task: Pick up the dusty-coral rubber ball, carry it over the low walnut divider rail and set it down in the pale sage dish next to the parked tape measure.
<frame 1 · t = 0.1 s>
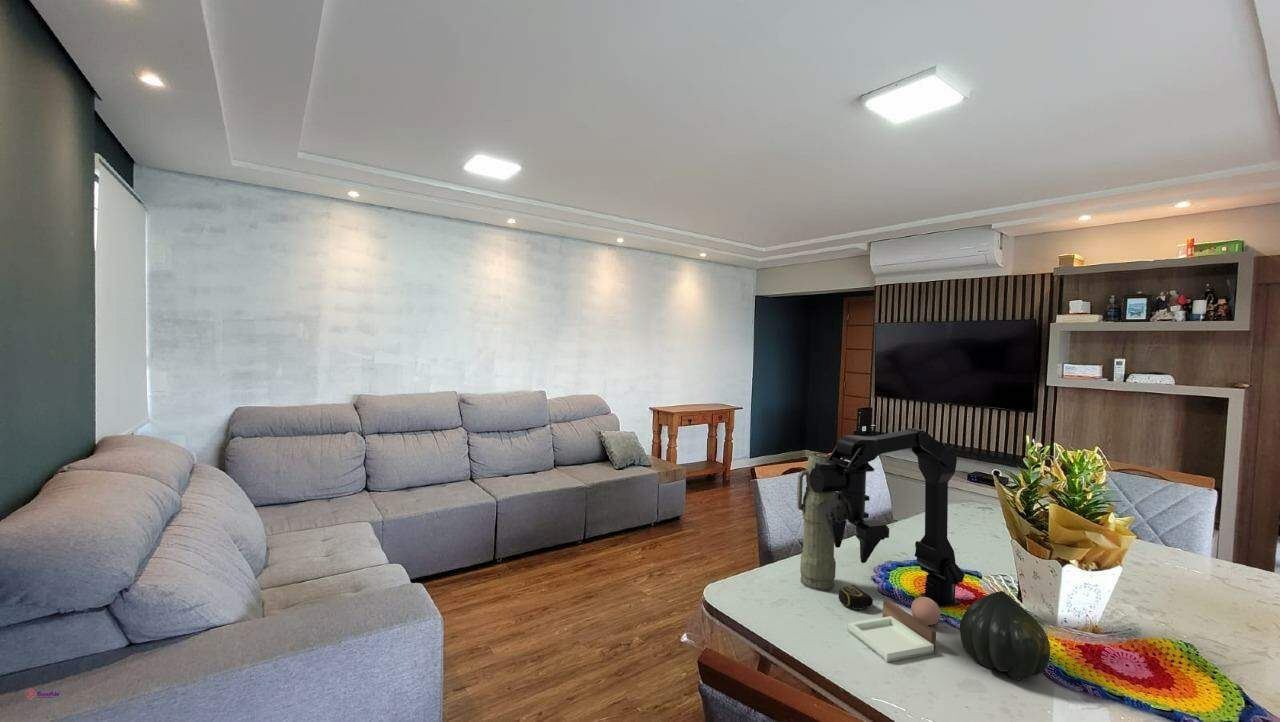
hand: (850, 554, 124), 15 cm above the table, fingers open, 9 cm apart
divider rail: (907, 632, 118), on the table
tape measure: (854, 605, 130), on the table
ball: (925, 623, 122), on the table
dish: (888, 641, 114), on the table
squash: (1000, 666, 106), on the table
thermos: (817, 583, 141), on the table
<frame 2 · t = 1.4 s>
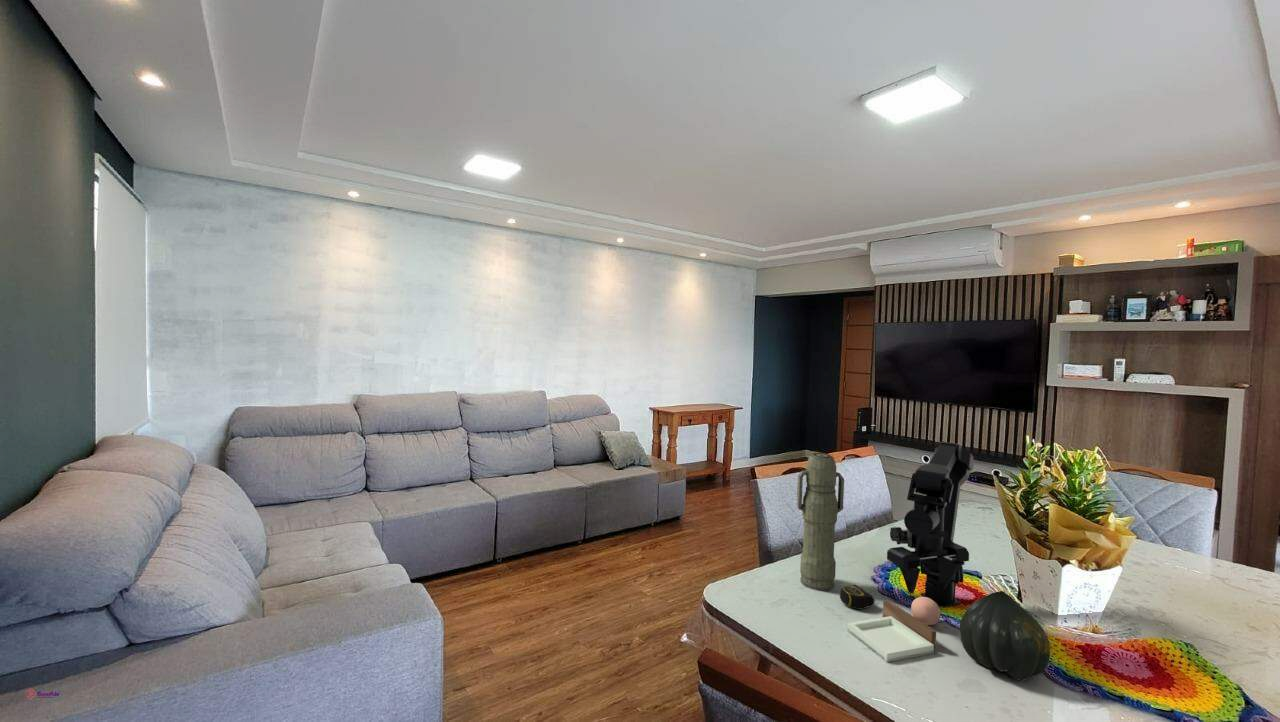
hand: (926, 590, 122), 8 cm above the table, fingers open, 9 cm apart
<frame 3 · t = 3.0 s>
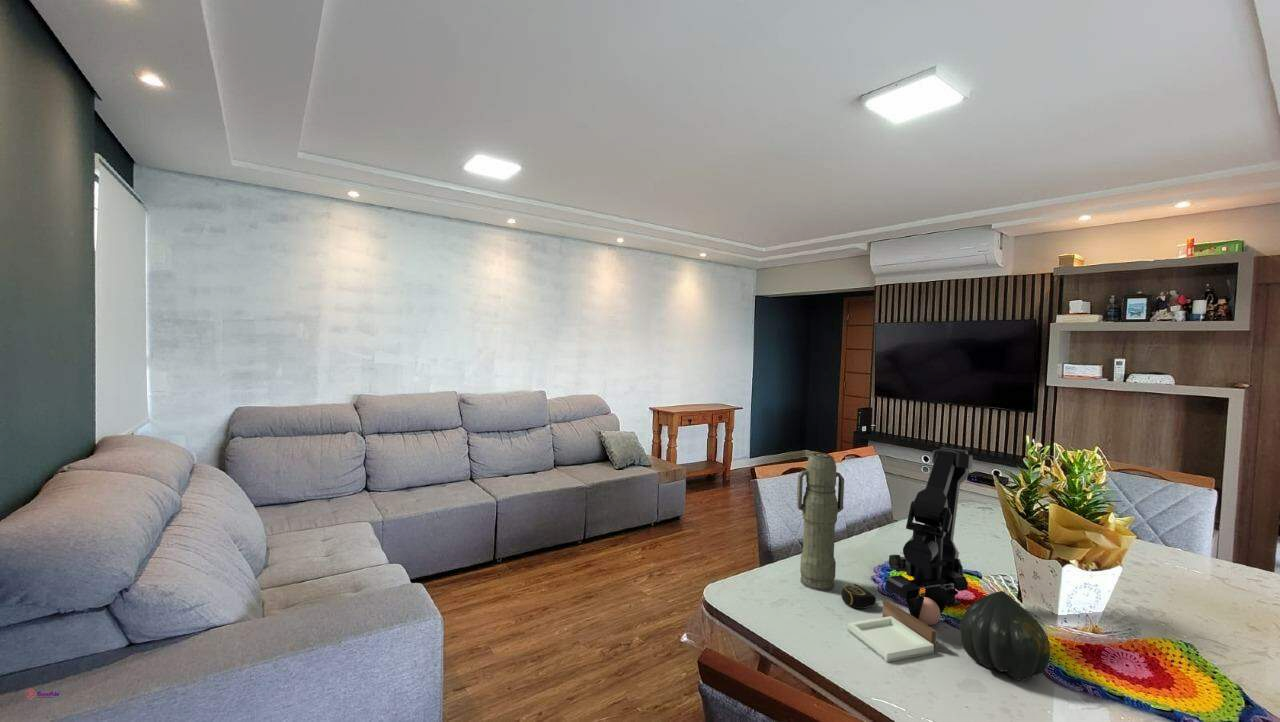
hand: (925, 619, 122), 1 cm above the table, fingers closed on ball, 6 cm apart
ball: (925, 623, 122), on the table, touching gripper
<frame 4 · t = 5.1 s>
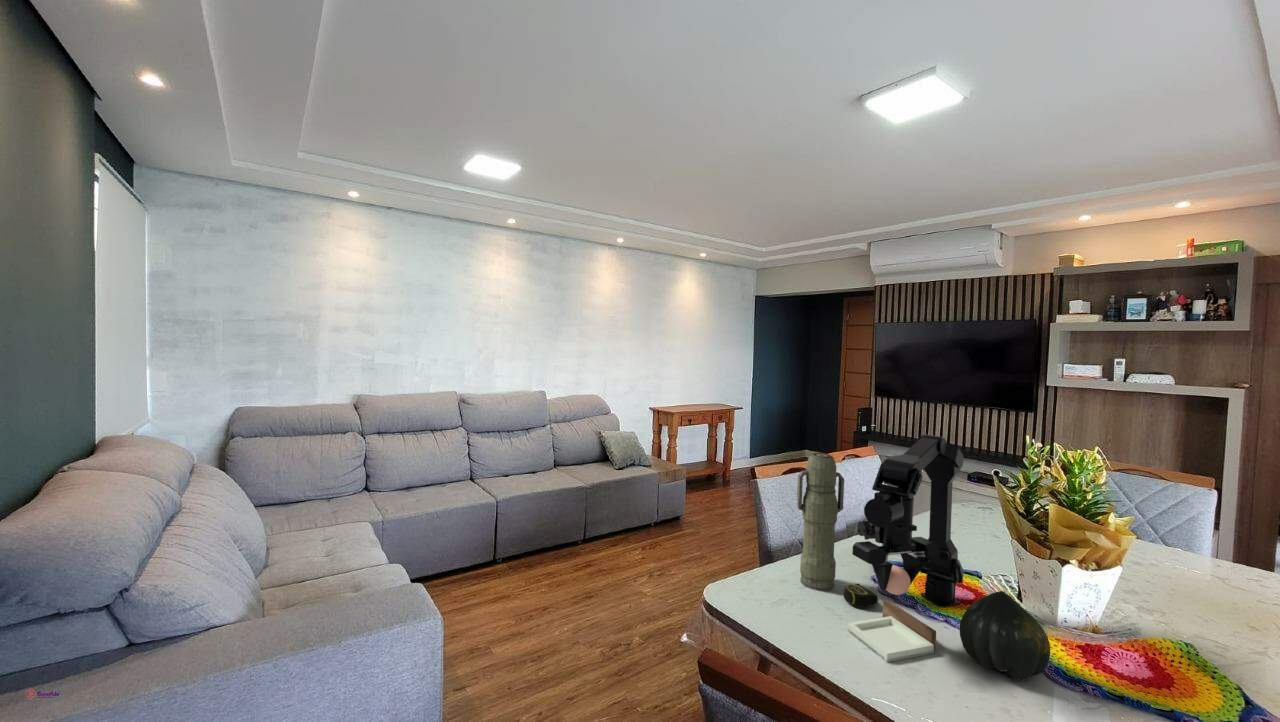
hand: (894, 588, 114), 12 cm above the table, fingers closed on ball, 6 cm apart
ball: (894, 593, 114), point 11 cm above the table, touching gripper
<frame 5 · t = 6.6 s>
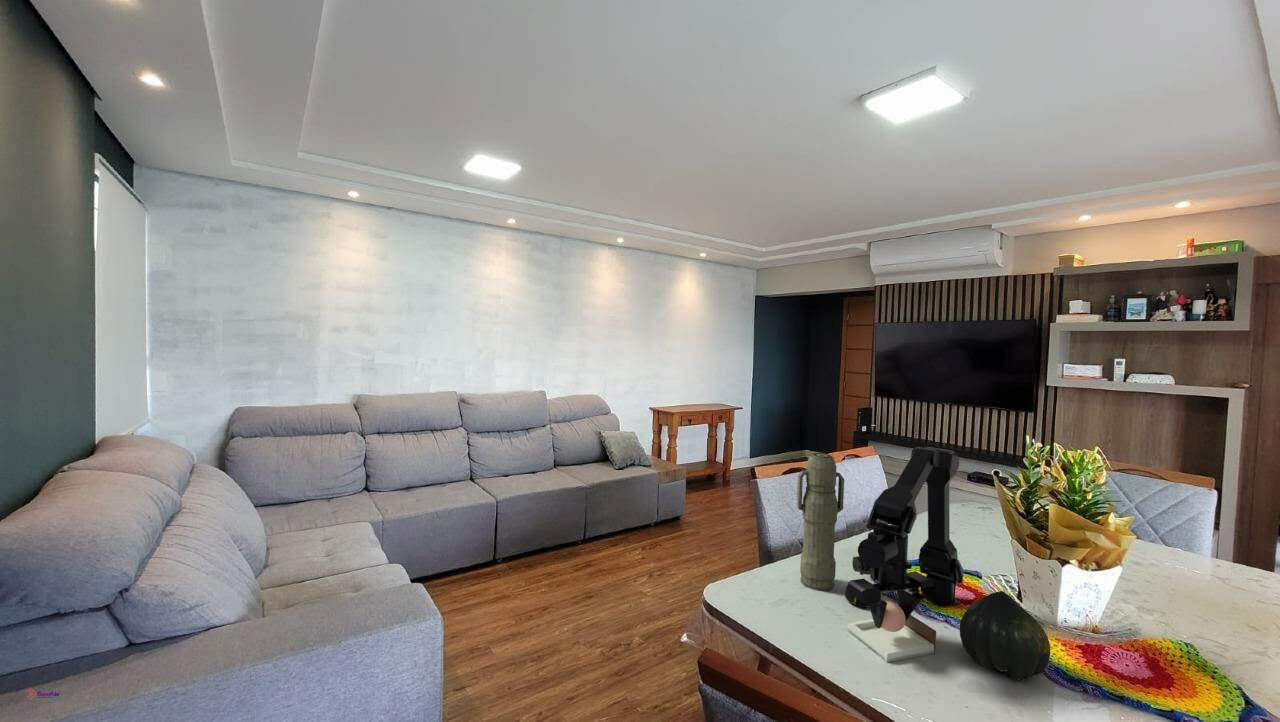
hand: (889, 625, 114), 4 cm above the table, fingers closed on ball, 6 cm apart
ball: (889, 630, 114), point 3 cm above the table, touching gripper
when the fingers open (3 cm above the table, at t = 7.6 s): ball drops 1 cm, resting on dish.
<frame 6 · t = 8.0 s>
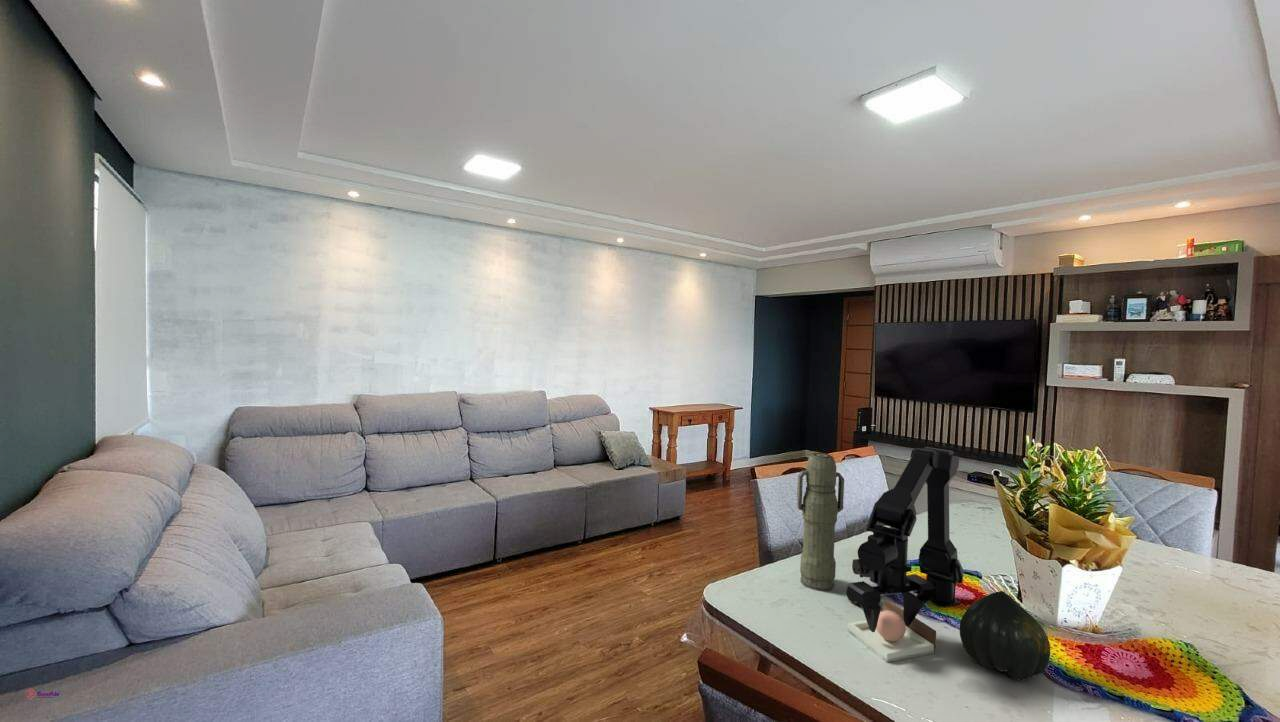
hand: (889, 628, 114), 3 cm above the table, fingers open, 9 cm apart
ball: (889, 639, 114), point 1 cm above the table, touching dish
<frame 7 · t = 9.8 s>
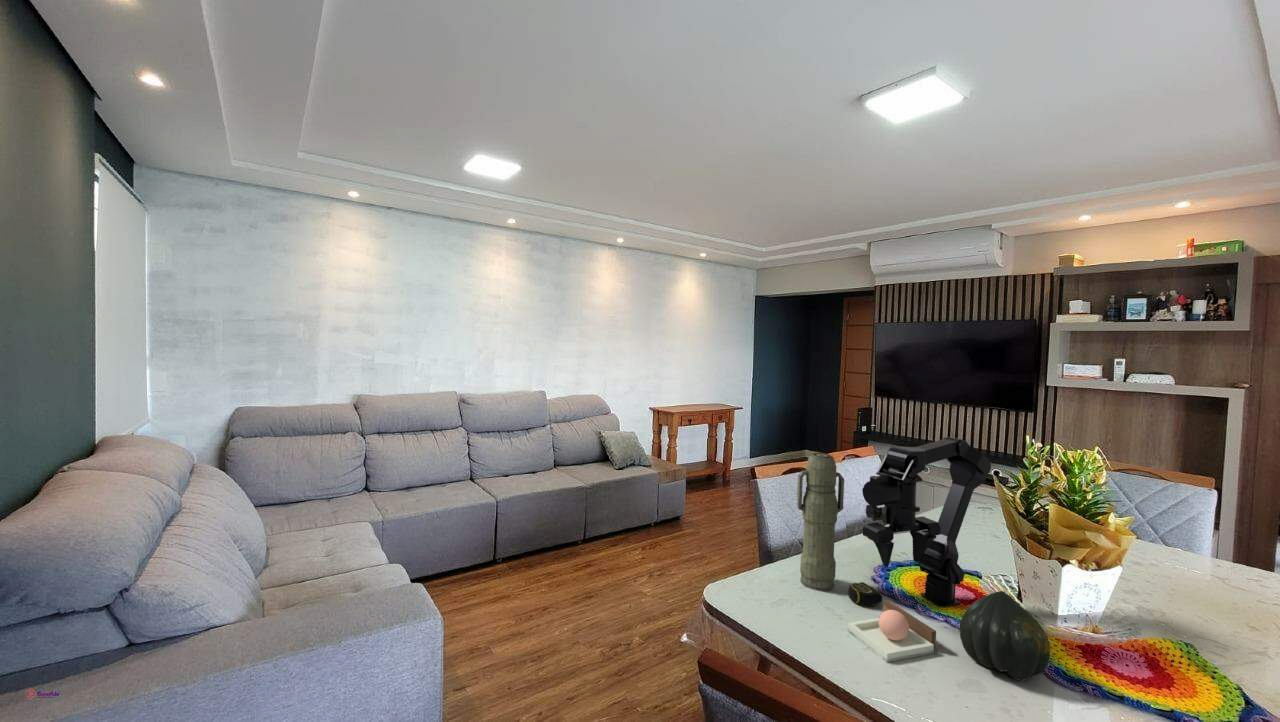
hand: (900, 564, 127), 12 cm above the table, fingers open, 9 cm apart
ball: (889, 638, 114), point 1 cm above the table, tilted 21°, touching dish
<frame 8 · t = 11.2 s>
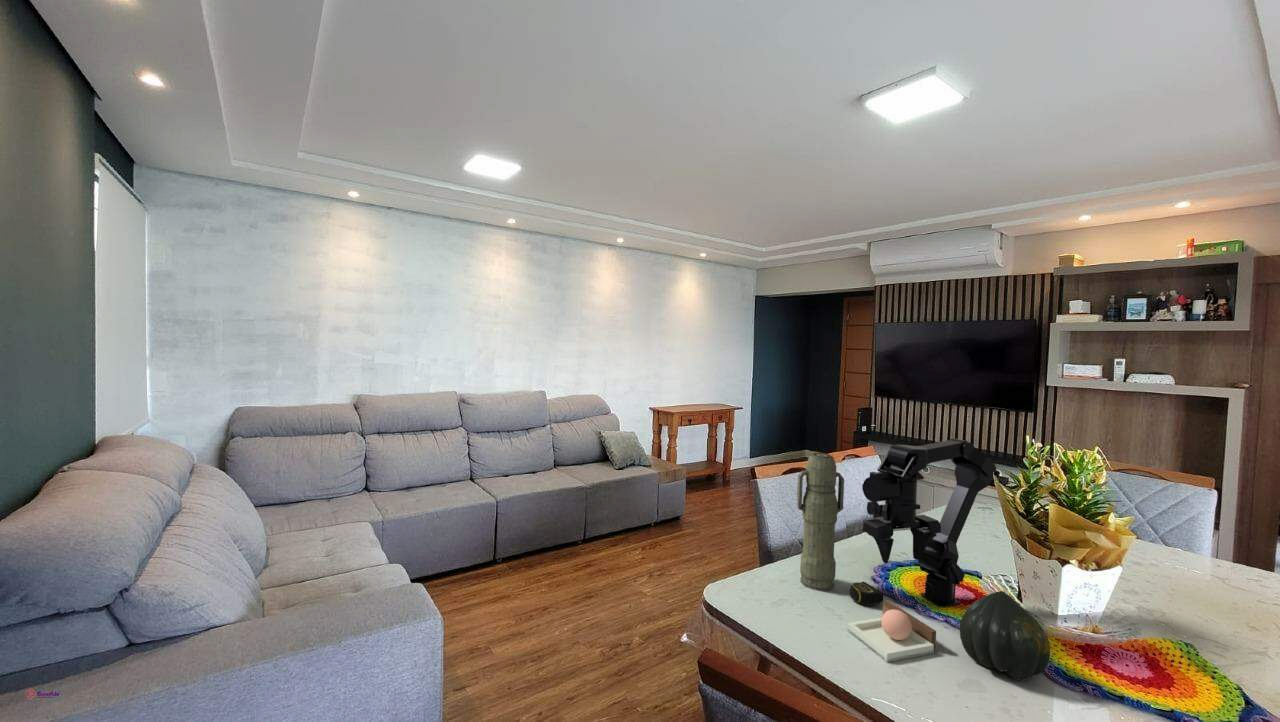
hand: (900, 560, 128), 12 cm above the table, fingers open, 9 cm apart
ball: (889, 636, 114), point 1 cm above the table, tilted 34°, touching dish
at the end: ball inside the target area on the dish (0.1 cm from its centre), point 1.1 cm above the dish's base; the gripper is holding nothing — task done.
